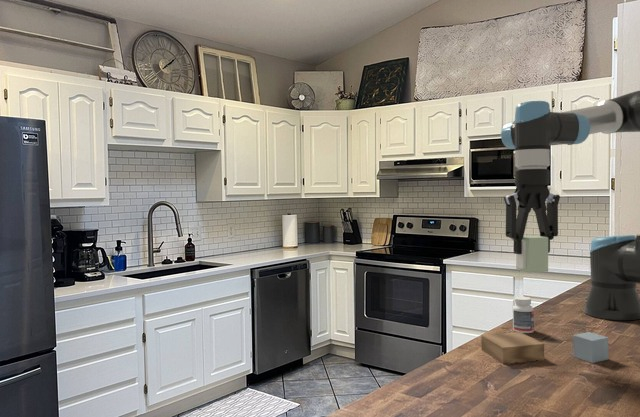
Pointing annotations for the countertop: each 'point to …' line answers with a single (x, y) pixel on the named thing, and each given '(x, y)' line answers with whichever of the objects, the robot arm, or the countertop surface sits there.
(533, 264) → the sage block
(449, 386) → the countertop surface
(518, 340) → the walnut slab
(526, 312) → the pill bottle
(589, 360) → the slate cube
